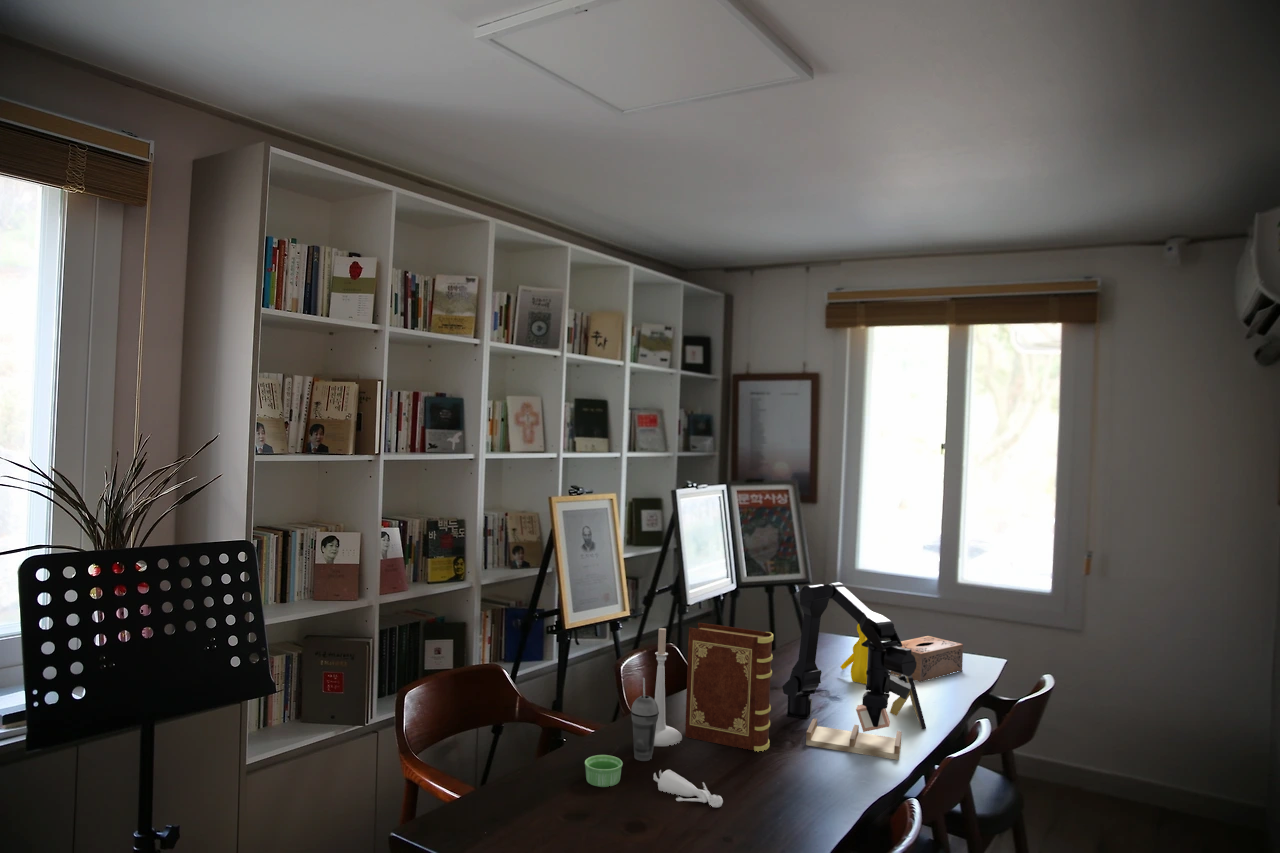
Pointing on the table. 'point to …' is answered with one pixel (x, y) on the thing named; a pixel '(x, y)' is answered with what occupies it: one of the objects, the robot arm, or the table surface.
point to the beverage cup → (644, 725)
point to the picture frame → (915, 702)
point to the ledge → (854, 741)
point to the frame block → (866, 720)
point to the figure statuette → (858, 660)
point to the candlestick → (663, 699)
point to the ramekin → (603, 770)
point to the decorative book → (729, 686)
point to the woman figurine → (685, 789)
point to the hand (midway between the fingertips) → (876, 724)
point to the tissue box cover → (934, 657)
